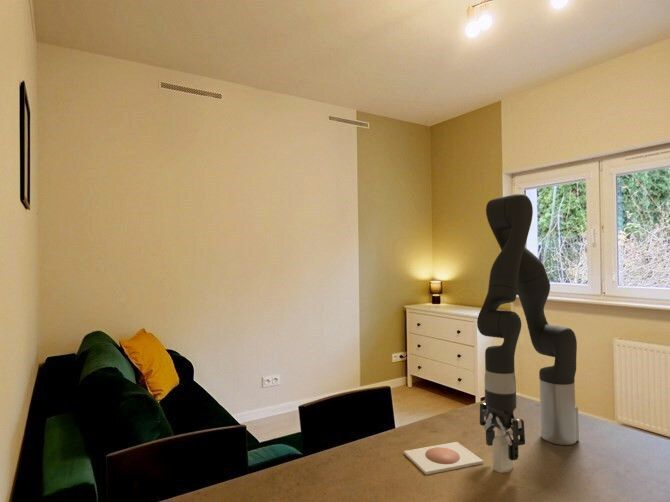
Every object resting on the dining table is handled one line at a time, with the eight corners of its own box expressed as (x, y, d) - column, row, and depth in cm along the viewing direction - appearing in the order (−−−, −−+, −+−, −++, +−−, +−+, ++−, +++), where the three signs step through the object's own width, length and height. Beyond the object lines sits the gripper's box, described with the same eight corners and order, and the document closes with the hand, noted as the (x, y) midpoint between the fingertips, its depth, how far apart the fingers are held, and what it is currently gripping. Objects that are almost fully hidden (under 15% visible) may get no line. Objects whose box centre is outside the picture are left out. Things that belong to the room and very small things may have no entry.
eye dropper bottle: (518, 472, 103) (516, 424, 104) (496, 473, 103) (495, 425, 103) (509, 464, 108) (508, 417, 108) (488, 465, 108) (487, 418, 108)
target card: (456, 444, 120) (456, 441, 120) (483, 463, 108) (483, 460, 108) (404, 453, 115) (403, 450, 115) (425, 474, 103) (425, 471, 103)
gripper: (532, 395, 100) (534, 462, 100) (494, 379, 114) (495, 438, 114) (507, 398, 98) (508, 467, 98) (470, 381, 112) (471, 442, 111)
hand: (501, 451), depth 106 cm, fingers open, 8 cm apart
